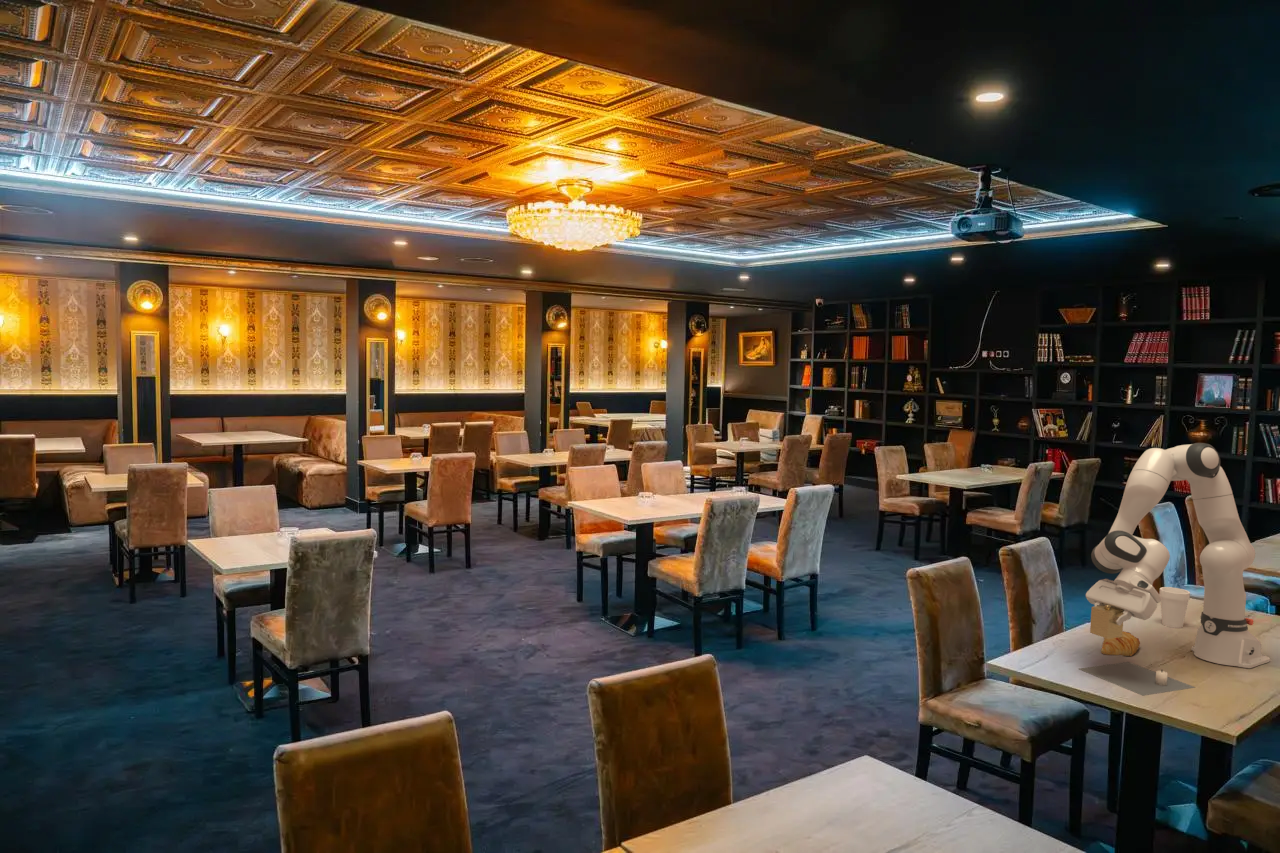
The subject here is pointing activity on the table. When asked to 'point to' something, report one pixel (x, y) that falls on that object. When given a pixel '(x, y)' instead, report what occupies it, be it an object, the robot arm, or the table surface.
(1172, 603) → the foam cup
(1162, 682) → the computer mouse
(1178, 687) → the charcoal mat
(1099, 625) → the brass knob block
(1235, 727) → the table surface
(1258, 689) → the table surface
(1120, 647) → the croissant
